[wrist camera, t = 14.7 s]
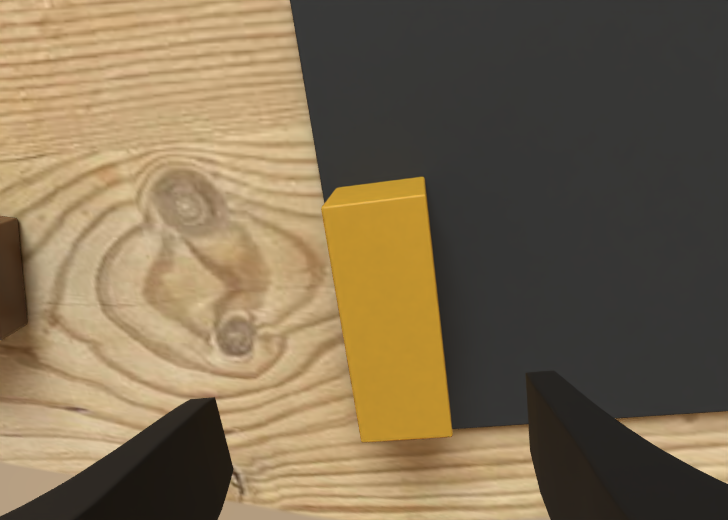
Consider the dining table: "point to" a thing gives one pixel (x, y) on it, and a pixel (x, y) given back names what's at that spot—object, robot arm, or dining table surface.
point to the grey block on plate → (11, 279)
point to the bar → (389, 308)
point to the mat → (546, 184)
